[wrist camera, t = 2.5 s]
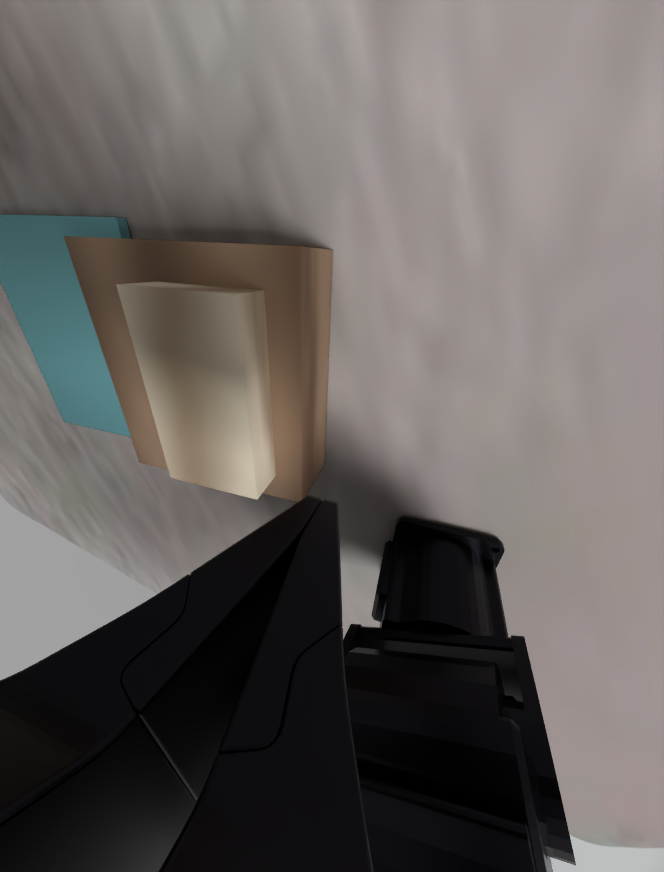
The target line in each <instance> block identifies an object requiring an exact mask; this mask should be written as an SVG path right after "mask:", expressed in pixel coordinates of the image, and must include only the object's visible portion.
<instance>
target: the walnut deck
mask: <svg viewBox="0 0 664 872" xmlns="http://www.w3.org/2000/svg"><path fill="white" fill-rule="evenodd" d="M64 239H65V242H66V245H67V248H68V251H69V254H70V257H71V260H72V263H73V266H74V269H75V272H76V275H77V278H78V281H79V284H80V287H81V290H82V293H83V296H84V299H85V302H86V305H87V308H88V310H89V313H90V316H91V319H92V322H93V325H94V328H95V331H96V334H97V337H98V340H99V343H100V346H101V349H102V352H103V355H104V358H105V361H106V364H107V367H108V370H109V373H110V376H111V379H112V382H113V385H114V388H115V391H116V394H117V397H118V400H119V403H120V406H121V409H122V412H123V415H124V418H125V420H126V423H127V426H128V429H129V432H130V435H131V438H132V441H133V444H134V447H135V450H136V453H137V456H138V459H139V462H140V463H143V464H147V465H151V466H155V467H159V468H163V469H167V470H168V467H167V463H166V460H165V456H164V453H163V449H162V445H161V442H160V438H159V435H158V431H157V428H156V424H155V421H154V417H153V414H152V410H151V407H150V403H149V399H148V396H147V392H146V389H145V385H144V382H143V378H142V375H141V371H140V368H139V364H138V360H137V357H136V353H135V350H134V346H133V343H132V339H131V336H130V332H129V329H128V325H127V322H126V318H125V314H124V311H123V307H122V304H121V300H120V297H119V293H118V290H117V286H116V284H130V283H145V282H168V283H181V284H193V285H205V286H218V287H230V288H242V289H255V290H264V295H265V311H266V327H267V343H268V359H269V375H270V392H271V408H272V424H273V440H274V456H275V472H276V476H275V477H274V479H273V480H272V481H271V483H270V484H269V485H268V487H267V488H266V489H265V490H264V492H263V494H267V495H271V496H275V497H279V498H283V499H287V500H291V501H295V502H299V501H300V500H302V499H303V498H305V497H306V496H307V494H308V492H309V490H310V488H311V487H312V485H313V483H314V481H315V480H316V478H317V476H318V474H319V473H320V471H321V469H322V467H323V466H324V464H325V444H326V418H327V392H328V366H329V340H330V314H331V288H332V262H333V250H329V249H320V248H311V247H303V246H285V245H261V244H238V243H215V242H192V241H169V240H145V239H122V238H99V237H76V236H64Z"/></svg>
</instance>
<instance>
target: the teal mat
mask: <svg viewBox="0 0 664 872" xmlns="http://www.w3.org/2000/svg"><path fill="white" fill-rule="evenodd" d="M64 236H76V237H99V238H122V239H131V237H130V233H129V229H128V225H127V220H126V218H118V217H87V216H44V215H0V282H1V284H2V286H3V288H4V290H5V293H6V295H7V297H8V299H9V302H10V304H11V306H12V308H13V310H14V313H15V315H16V317H17V319H18V321H19V324H20V326H21V328H22V330H23V332H24V335H25V337H26V339H27V341H28V344H29V346H30V348H31V350H32V352H33V355H34V357H35V359H36V361H37V363H38V366H39V368H40V370H41V372H42V374H43V377H44V379H45V381H46V383H47V386H48V388H49V390H50V392H51V394H52V397H53V399H54V401H55V403H56V405H57V408H58V410H59V412H60V414H61V416H62V419H63V421H64V422H67V423H72V424H76V425H80V426H85V427H89V428H93V429H98V430H102V431H106V432H111V433H115V434H119V435H124V436H128V437H131V435H130V432H129V429H128V426H127V423H126V420H125V418H124V415H123V412H122V409H121V406H120V403H119V400H118V397H117V394H116V391H115V388H114V385H113V382H112V379H111V376H110V373H109V370H108V367H107V364H106V361H105V358H104V355H103V352H102V349H101V346H100V343H99V340H98V337H97V334H96V331H95V328H94V325H93V322H92V319H91V316H90V313H89V310H88V308H87V305H86V302H85V299H84V296H83V293H82V290H81V287H80V284H79V281H78V278H77V275H76V272H75V269H74V266H73V263H72V260H71V257H70V254H69V251H68V248H67V245H66V242H65V239H64Z"/></svg>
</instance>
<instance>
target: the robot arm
mask: <svg viewBox="0 0 664 872" xmlns="http://www.w3.org/2000/svg"><path fill="white" fill-rule="evenodd" d="M402 524H405V525H407V526H404V525H402ZM492 547H496V548H492ZM503 553H504V546H503V543H502V542H501V541H500V540H497V539H493V538H489V537H485V536H481V535H477V534H473V533H469V532H465V531H460V530H456V529H452V528H448V527H444V526H440V525H436V524H431V523H427V522H423V521H419V520H415V519H411V518H407V517H401V518H399V519H398V520H397V524H396V528H395V533H394V538H393V541H390V540H389V541H387V542H386V543H385V548H384V553H383V558H382V563H381V569H380V574H379V579H378V584H377V590H376V595H375V600H374V605H373V611H372V617H373V619H374V620H376V621H379V622H380V628H376V627H363V626H361V625H360V624H351V625H350V627H349V629H348V631H347V633H346V635H345V638H344V640H343V628H342V599H341V568H340V537H339V507H338V503H337V502H334V501H330V500H322V499H321V498H318V497H313V496H306V497H305V498H303V499H302V500H300V501H299V502H297V503H296V504H294V505H293V506H291V507H290V508H288V509H287V510H285V511H283V512H282V513H280V514H279V515H277V516H276V517H274V518H273V519H271V520H270V521H268V522H267V523H265V524H264V525H262V526H261V527H259V528H258V529H256V530H255V531H253V532H252V533H250V534H249V535H247V536H246V537H244V538H243V539H241V540H240V541H238V542H237V543H235V544H234V545H232V546H231V547H229V548H227V549H226V550H224V551H223V552H221V553H220V554H218V555H217V556H215V557H214V558H212V559H211V560H209V561H208V562H206V563H205V564H203V565H202V566H200V567H199V568H197V569H196V570H194V571H193V572H192V573H191V575H186V576H185V577H183V578H182V579H180V580H179V581H177V582H176V583H174V584H173V585H171V586H170V587H168V588H166V589H165V590H163V591H162V592H160V593H159V594H157V595H155V596H154V597H152V598H151V599H149V600H147V601H146V602H144V603H142V604H141V605H139V606H137V607H136V608H134V609H132V610H130V611H129V612H127V613H126V614H123V615H122V616H120V617H118V618H117V619H115V620H113V621H111V622H109V623H108V624H106V625H104V626H102V627H101V628H99V629H97V630H95V631H93V632H91V633H90V634H88V635H86V636H84V637H83V638H81V639H79V640H77V641H75V642H74V643H72V644H70V645H68V646H66V647H65V648H63V649H61V650H59V651H58V652H56V653H54V654H52V655H50V656H48V657H47V658H45V659H43V660H41V661H39V662H38V663H36V664H34V665H32V666H30V667H28V668H26V669H24V670H23V671H20V672H18V673H16V674H14V675H12V676H10V677H7V678H5V679H3V680H0V872H553V870H552V866H551V860H550V857H552V858H555V859H558V860H561V861H564V862H567V863H571V864H574V865H576V864H575V859H574V854H573V849H572V845H571V840H570V835H569V831H568V826H567V822H566V817H565V813H564V808H563V804H562V799H561V795H560V790H559V786H558V781H557V777H556V773H555V768H554V764H553V759H552V755H551V751H550V746H549V742H548V737H547V733H546V729H545V725H544V720H543V716H542V712H541V707H540V703H539V699H538V694H537V690H536V686H535V682H534V677H533V673H532V669H531V664H530V660H529V656H528V651H527V647H526V643H525V639H524V636H512V635H511V638H509V637H508V633H507V627H506V622H505V616H504V611H503V606H502V600H501V595H500V589H499V584H498V579H497V573H496V567H497V565H498V563H499V561H500V559H501V557H502V555H503Z"/></svg>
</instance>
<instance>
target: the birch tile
mask: <svg viewBox="0 0 664 872" xmlns="http://www.w3.org/2000/svg"><path fill="white" fill-rule="evenodd" d="M116 286H117V290H118V293H119V297H120V300H121V304H122V307H123V311H124V314H125V318H126V322H127V325H128V329H129V332H130V336H131V339H132V343H133V346H134V350H135V353H136V357H137V360H138V364H139V368H140V371H141V375H142V378H143V382H144V385H145V389H146V392H147V396H148V399H149V403H150V407H151V410H152V414H153V417H154V421H155V424H156V428H157V431H158V435H159V438H160V442H161V445H162V449H163V453H164V456H165V460H166V463H167V467H168V470H169V474H170V477H171V478H174V479H178V480H182V481H186V482H190V483H194V484H197V485H201V486H205V487H209V488H213V489H217V490H221V491H225V492H228V493H232V494H236V495H240V496H244V497H248V498H252V499H256V500H258V498H259V497H260V496H261V494H262V493H263V492H264V490H265V489H266V488H267V487H268V485H269V484H270V483H271V481H272V480H273V479H274V477H275V476H276V472H275V456H274V440H273V424H272V408H271V392H270V375H269V359H268V343H267V327H266V311H265V295H264V290H255V289H242V288H230V287H218V286H205V285H193V284H181V283H168V282H145V283H130V284H116Z"/></svg>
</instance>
